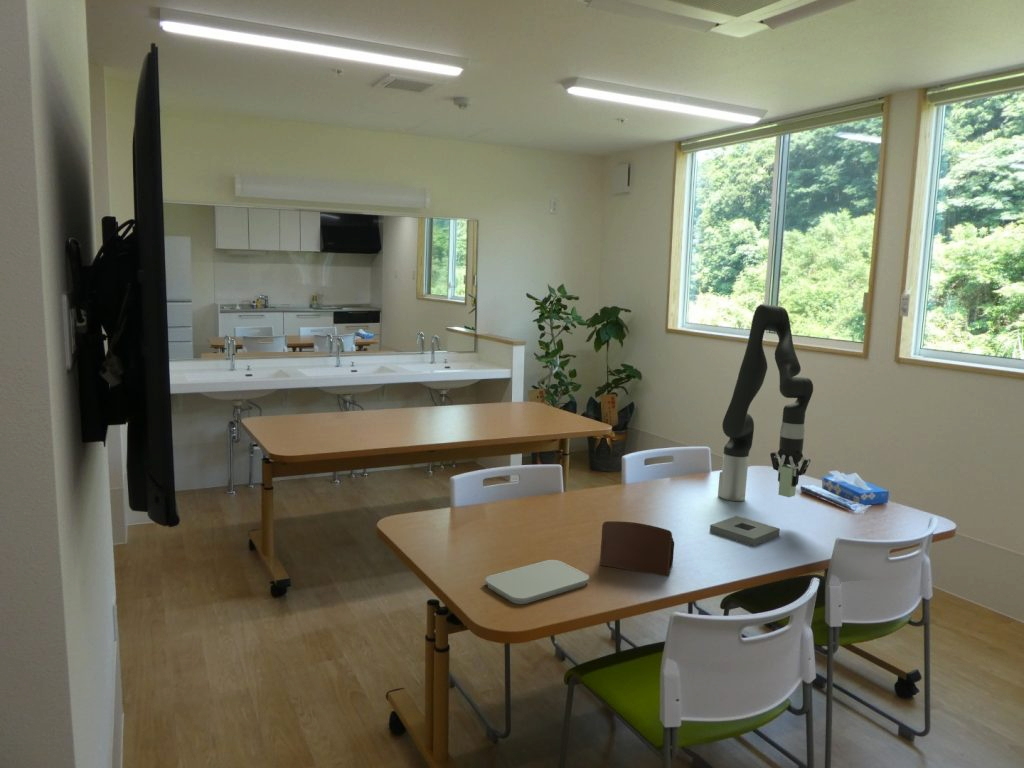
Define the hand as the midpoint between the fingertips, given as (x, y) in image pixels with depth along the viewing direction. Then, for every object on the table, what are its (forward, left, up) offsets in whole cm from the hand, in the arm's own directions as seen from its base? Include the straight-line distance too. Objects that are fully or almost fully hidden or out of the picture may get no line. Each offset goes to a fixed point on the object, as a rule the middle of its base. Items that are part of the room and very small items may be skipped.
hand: (787, 484), depth 255 cm
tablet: (-15, -103, -15) cm, 105 cm away
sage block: (0, 0, -4) cm, 4 cm away
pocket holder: (-3, -20, -14) cm, 25 cm away
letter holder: (-8, -71, -15) cm, 72 cm away
